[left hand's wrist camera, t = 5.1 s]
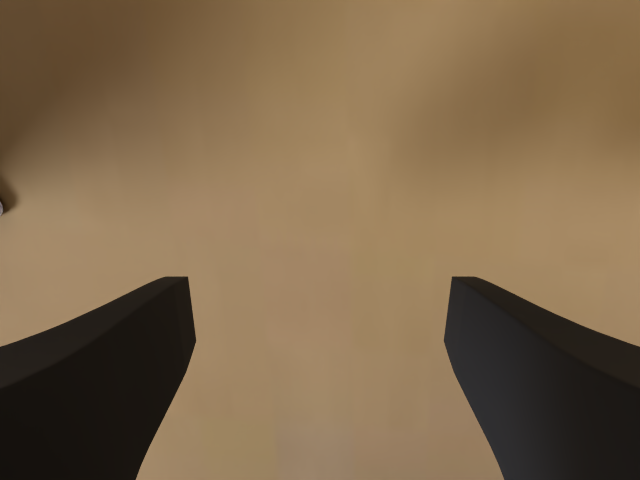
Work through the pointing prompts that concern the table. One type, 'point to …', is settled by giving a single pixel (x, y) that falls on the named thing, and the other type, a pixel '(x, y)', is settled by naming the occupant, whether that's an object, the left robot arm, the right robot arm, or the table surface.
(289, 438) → the table surface
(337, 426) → the table surface
